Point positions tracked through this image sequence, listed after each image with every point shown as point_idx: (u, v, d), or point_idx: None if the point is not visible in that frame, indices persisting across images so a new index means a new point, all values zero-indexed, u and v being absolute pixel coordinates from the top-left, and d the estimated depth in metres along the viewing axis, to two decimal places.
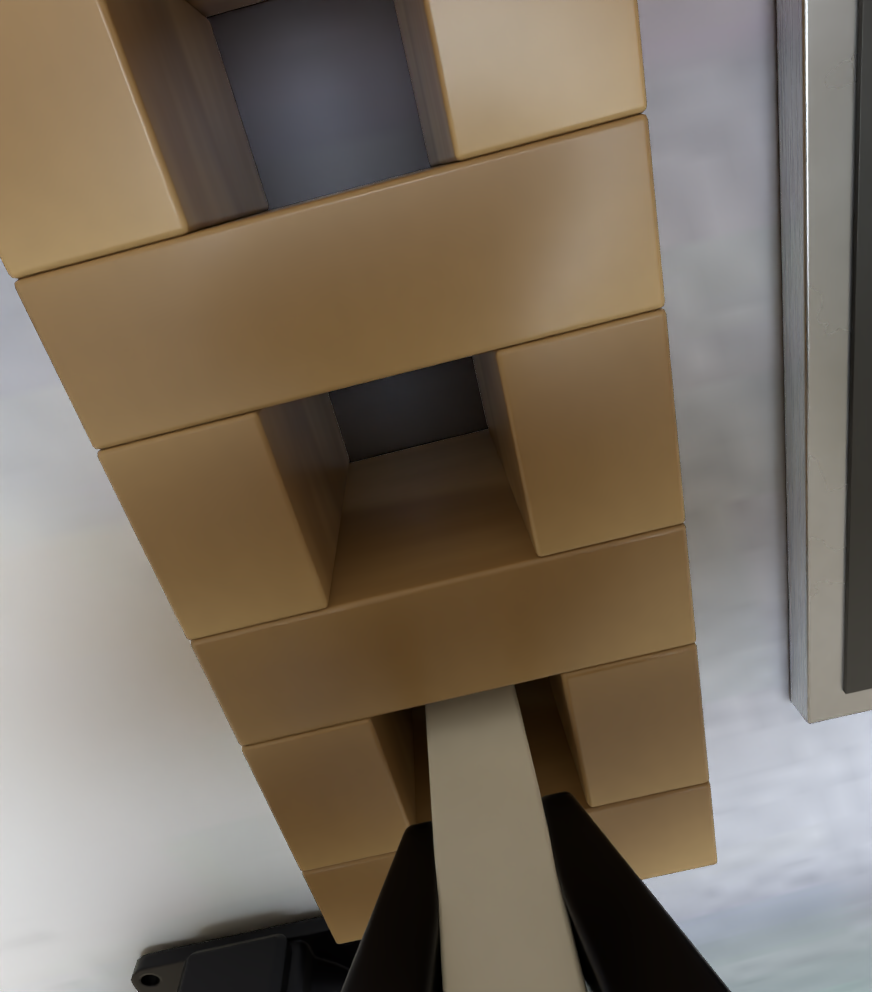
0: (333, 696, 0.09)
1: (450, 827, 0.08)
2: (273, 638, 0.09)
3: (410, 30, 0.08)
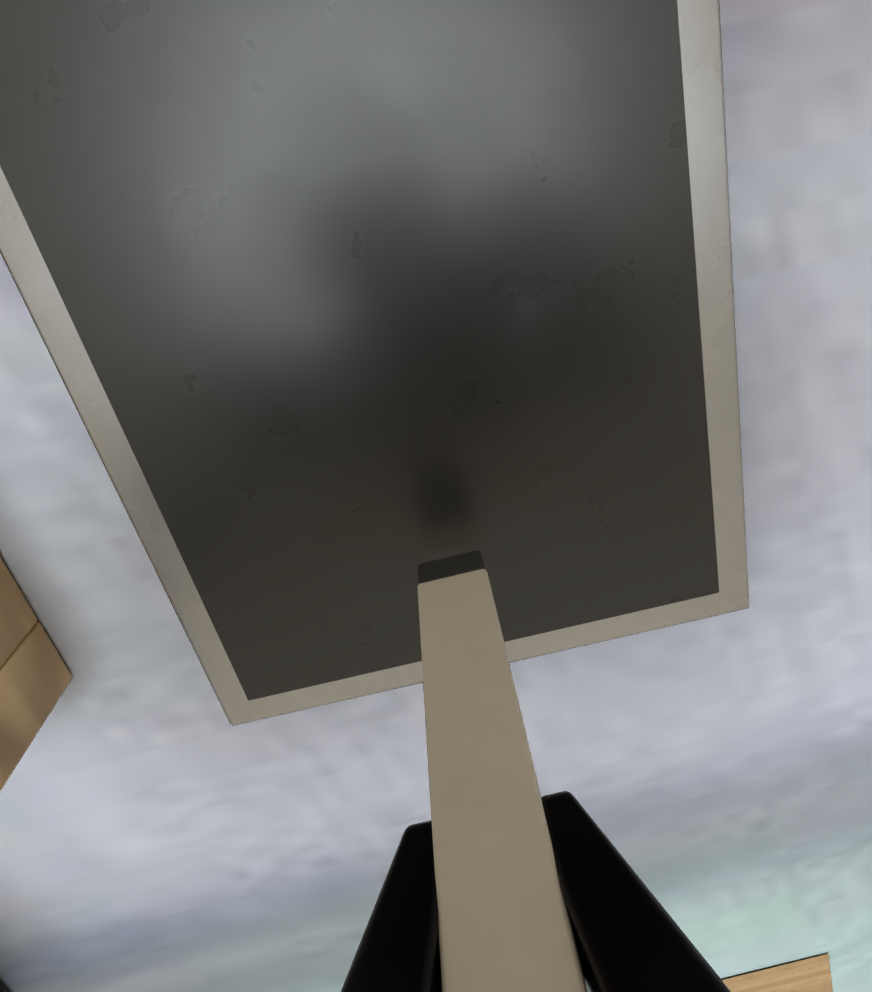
0: None
1: (449, 826, 0.08)
2: None
3: None
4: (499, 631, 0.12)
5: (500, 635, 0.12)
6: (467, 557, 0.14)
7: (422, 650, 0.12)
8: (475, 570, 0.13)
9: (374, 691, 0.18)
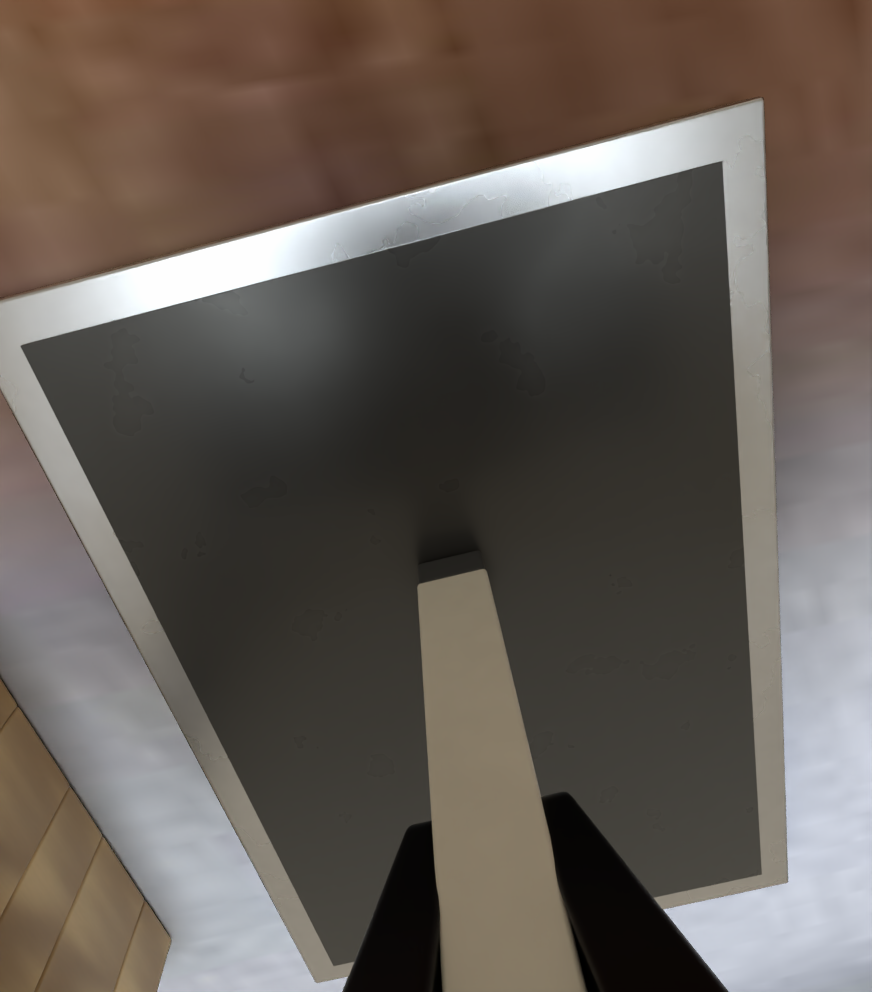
0: None
1: (449, 826, 0.08)
2: None
3: None
4: (499, 631, 0.12)
5: (500, 635, 0.12)
6: (466, 558, 0.14)
7: (422, 650, 0.12)
8: (475, 570, 0.13)
9: None
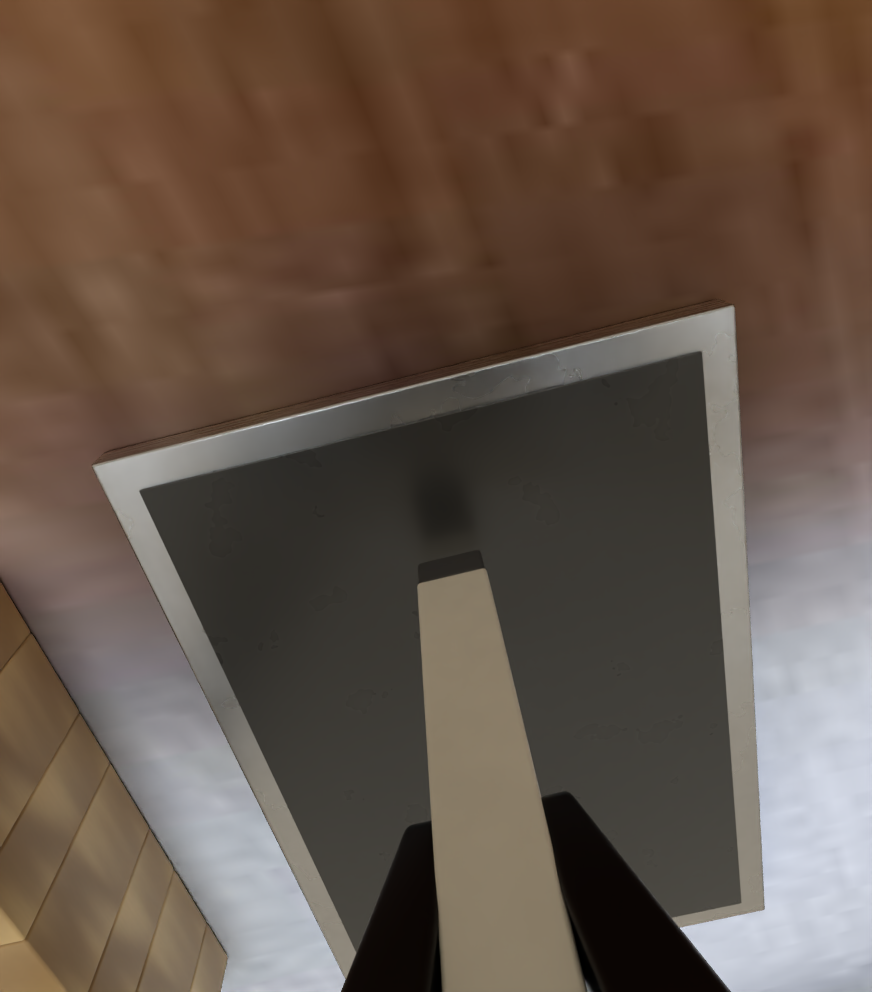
0: None
1: (449, 825, 0.08)
2: None
3: None
4: (499, 630, 0.12)
5: (500, 634, 0.12)
6: (466, 557, 0.14)
7: (422, 649, 0.12)
8: (475, 570, 0.14)
9: None
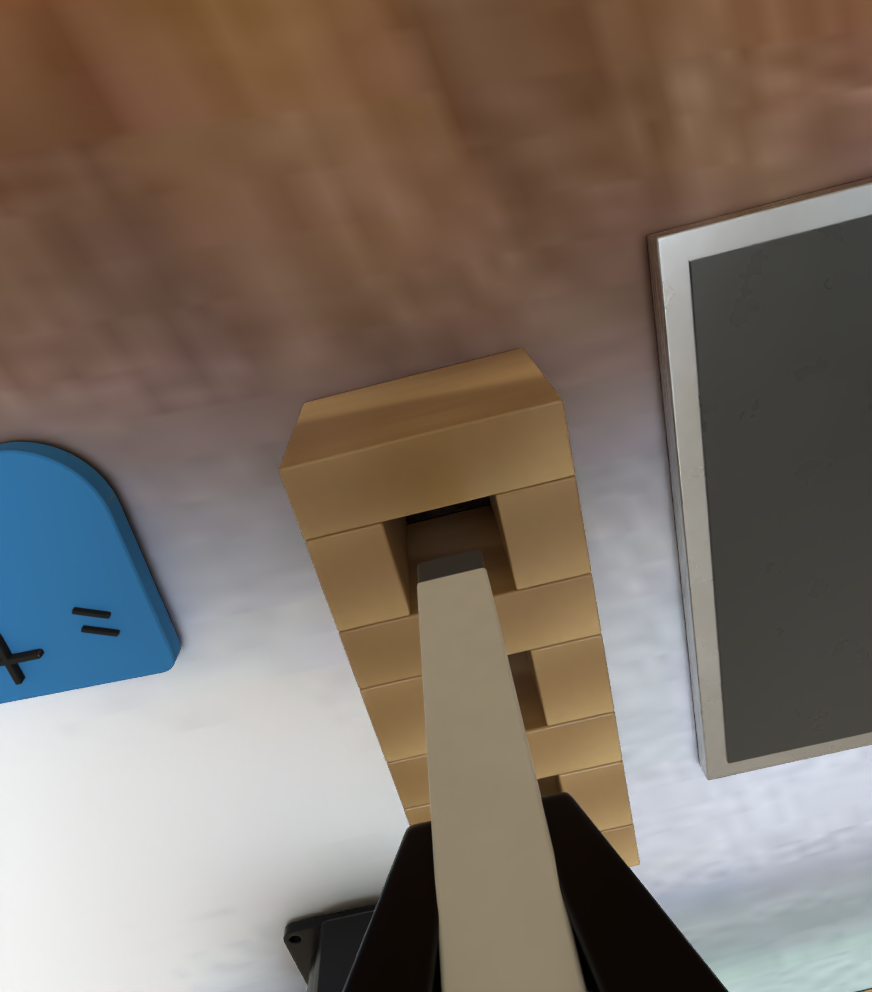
0: None
1: (449, 825, 0.08)
2: (425, 760, 0.19)
3: None
4: (499, 630, 0.12)
5: (500, 634, 0.12)
6: (466, 557, 0.14)
7: (422, 649, 0.12)
8: (475, 569, 0.13)
9: (812, 756, 0.26)
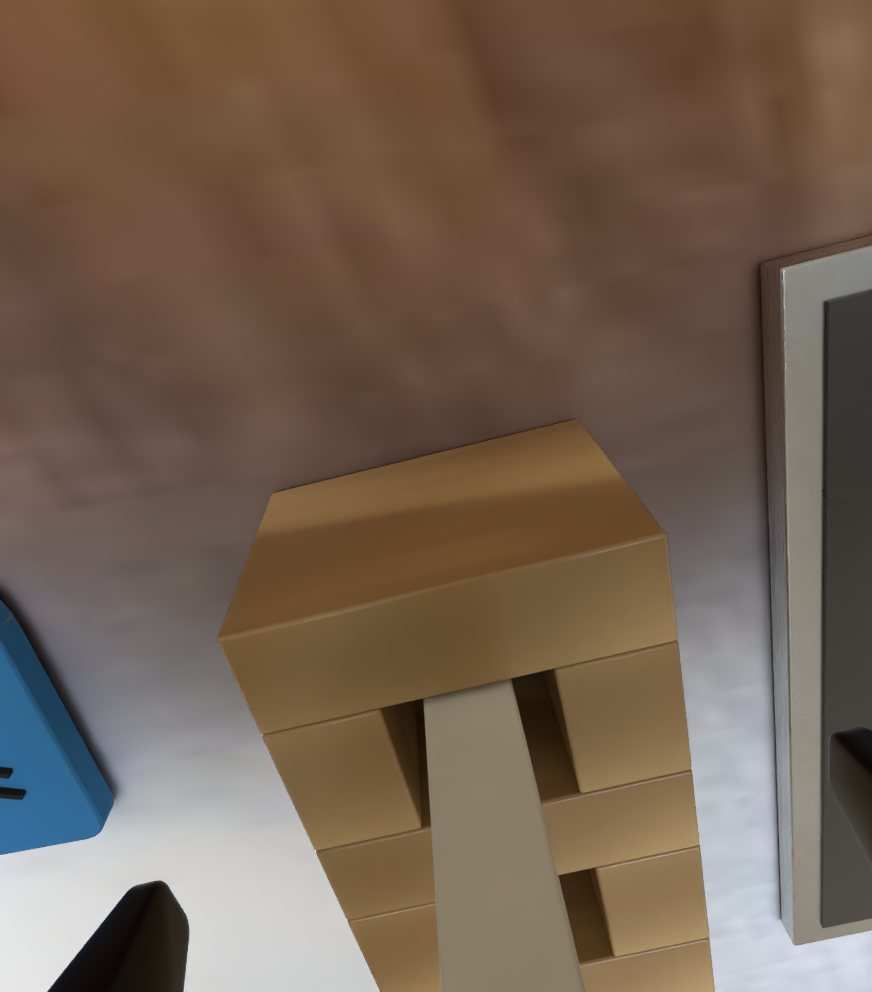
0: None
1: (444, 779, 0.09)
2: None
3: None
4: None
5: None
6: None
7: None
8: None
9: None
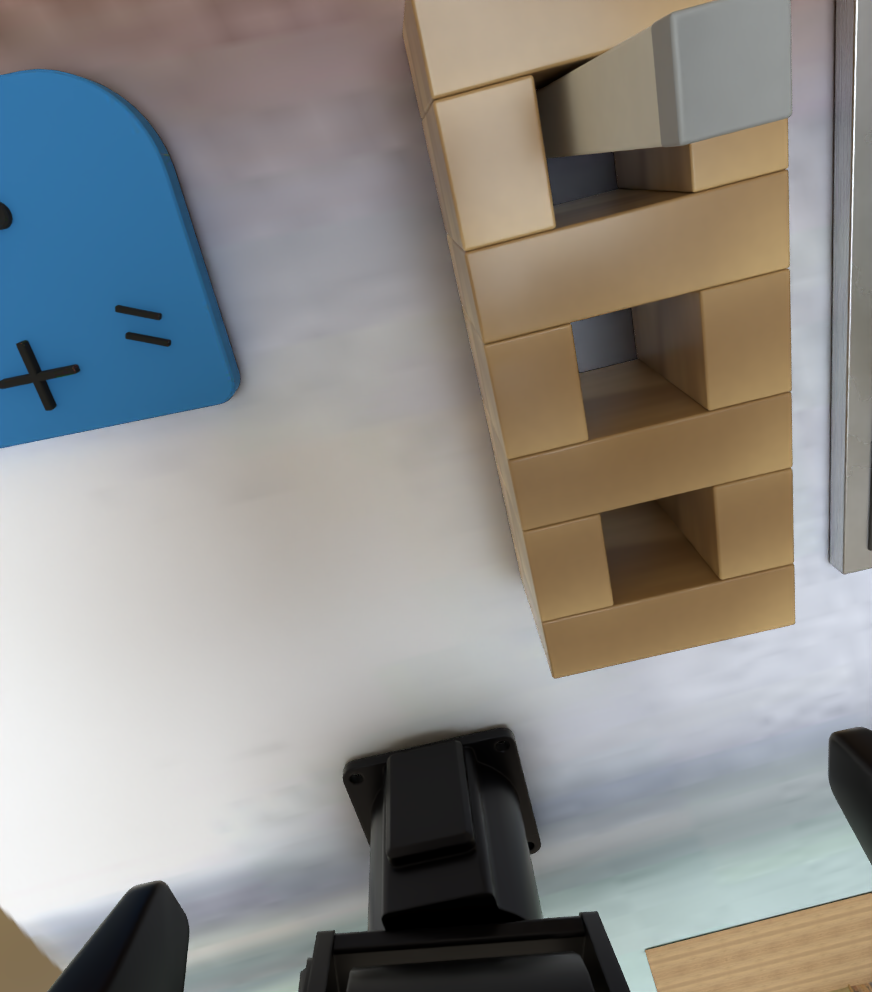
0: (582, 497, 0.16)
1: None
2: (555, 458, 0.16)
3: None
4: None
5: None
6: None
7: (547, 85, 0.14)
8: None
9: None
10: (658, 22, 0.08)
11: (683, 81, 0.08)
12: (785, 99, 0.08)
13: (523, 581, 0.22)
